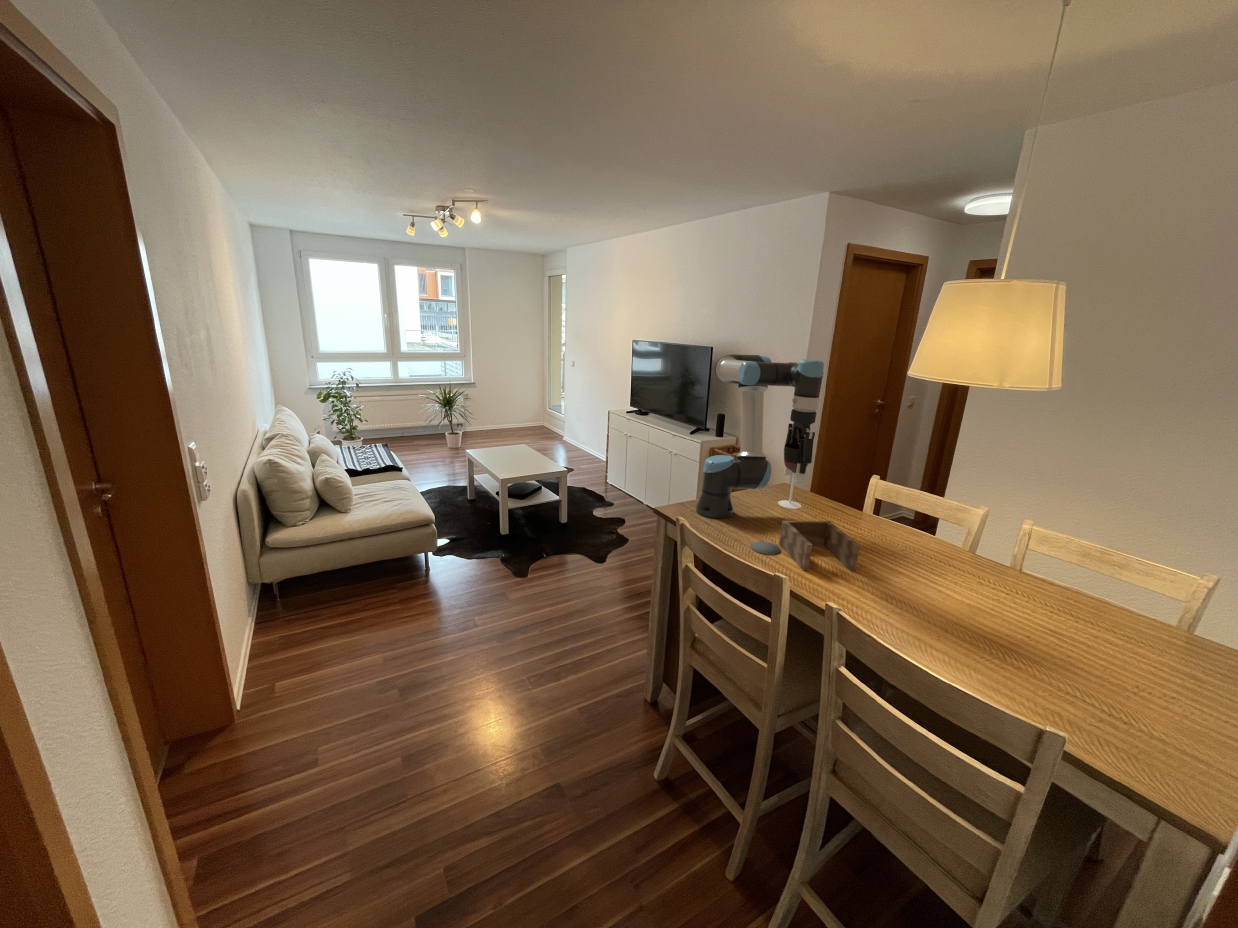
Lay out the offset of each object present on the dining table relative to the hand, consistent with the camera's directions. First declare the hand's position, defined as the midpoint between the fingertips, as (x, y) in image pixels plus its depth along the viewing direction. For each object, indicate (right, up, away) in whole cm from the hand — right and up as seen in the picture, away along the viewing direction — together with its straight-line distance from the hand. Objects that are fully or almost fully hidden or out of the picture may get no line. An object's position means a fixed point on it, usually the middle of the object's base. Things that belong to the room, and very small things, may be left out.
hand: (793, 478), depth 162 cm
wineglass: (0, -9, +3) cm, 9 cm away
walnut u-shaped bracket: (+9, -27, +4) cm, 28 cm away
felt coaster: (-7, -25, +9) cm, 27 cm away
